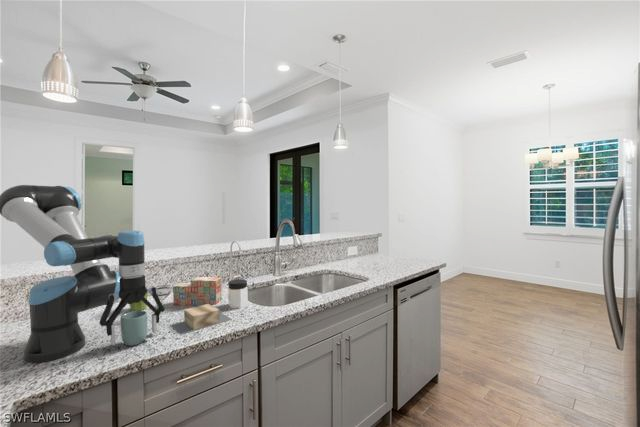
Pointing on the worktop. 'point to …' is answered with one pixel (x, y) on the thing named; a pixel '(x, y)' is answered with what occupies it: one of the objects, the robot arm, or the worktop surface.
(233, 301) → the jar
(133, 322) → the cup
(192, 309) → the oak riser
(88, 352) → the worktop surface
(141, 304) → the plant pot
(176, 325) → the base board
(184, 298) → the stack of blocks
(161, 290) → the wineglass
